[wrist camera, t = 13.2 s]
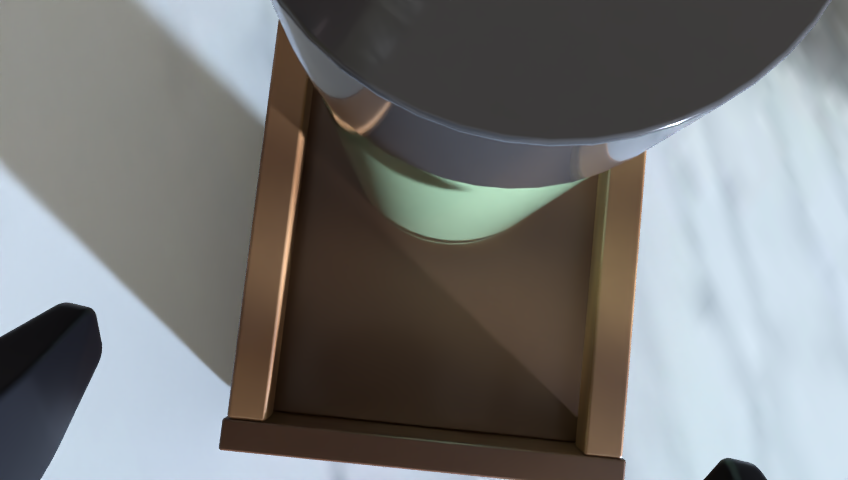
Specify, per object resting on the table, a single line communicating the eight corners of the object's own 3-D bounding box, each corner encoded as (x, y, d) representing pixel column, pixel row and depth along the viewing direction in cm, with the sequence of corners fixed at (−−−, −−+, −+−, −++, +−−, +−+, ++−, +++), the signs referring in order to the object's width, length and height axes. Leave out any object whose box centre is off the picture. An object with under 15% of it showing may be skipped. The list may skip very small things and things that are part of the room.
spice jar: (489, 288, 19) (677, 276, 6) (304, 175, 19) (83, -86, 6) (598, 106, 19) (993, -275, 6) (417, -3, 19) (442, -598, 6)
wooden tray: (578, 450, 21) (624, 492, 17) (257, 417, 21) (218, 450, 17) (613, 33, 23) (665, -32, 18) (310, -2, 22) (286, -76, 18)
